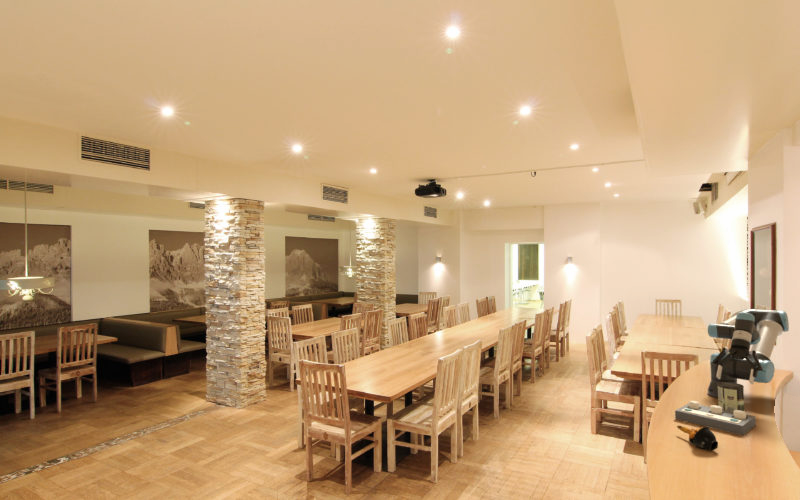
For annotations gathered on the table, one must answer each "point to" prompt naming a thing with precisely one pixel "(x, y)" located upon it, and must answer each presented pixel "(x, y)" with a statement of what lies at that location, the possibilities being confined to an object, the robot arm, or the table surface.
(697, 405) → the end button
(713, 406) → the middle button
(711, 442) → the black bulb with handle
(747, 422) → the button board
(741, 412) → the end button
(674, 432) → the table surface
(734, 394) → the coffee can
